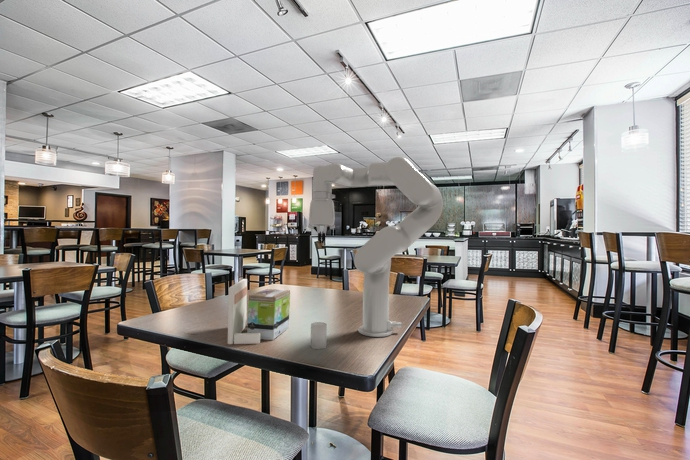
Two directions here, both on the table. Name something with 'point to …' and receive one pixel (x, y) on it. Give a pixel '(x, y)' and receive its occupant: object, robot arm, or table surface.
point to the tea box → (268, 313)
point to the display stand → (239, 315)
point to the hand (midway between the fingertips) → (321, 243)
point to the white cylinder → (318, 335)
